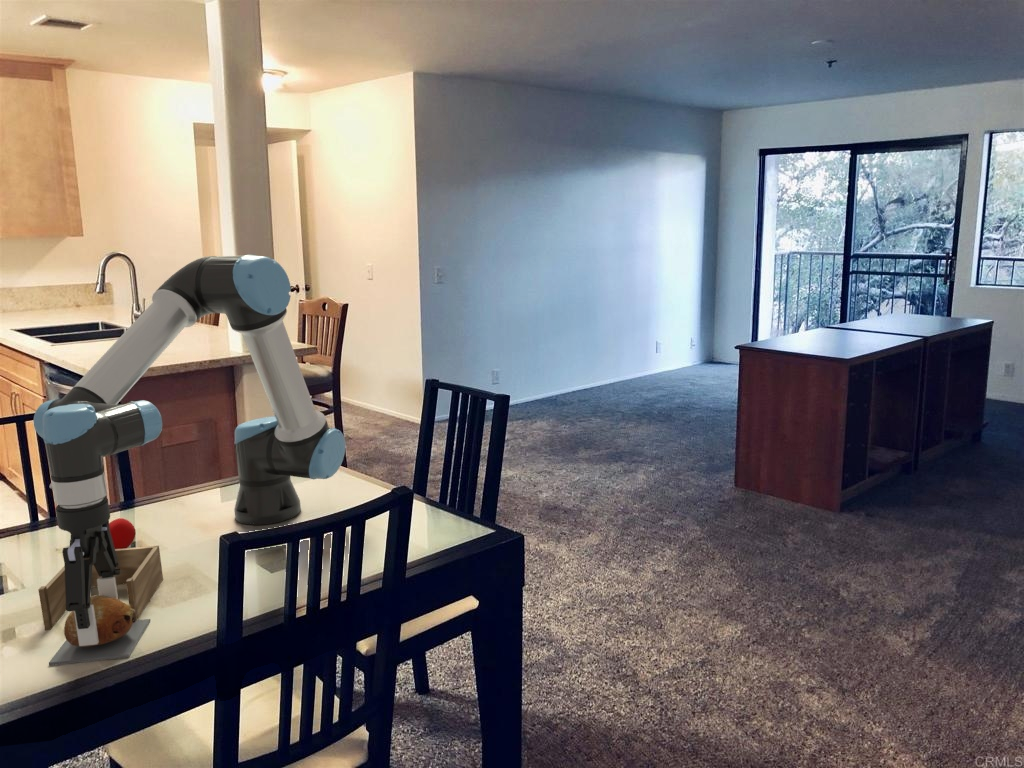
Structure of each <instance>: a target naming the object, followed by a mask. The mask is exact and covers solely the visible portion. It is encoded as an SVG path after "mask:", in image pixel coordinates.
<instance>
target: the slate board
mask: <svg viewBox="0 0 1024 768" xmlns="http://www.w3.org/2000/svg"><path fill="white" fill-rule="evenodd" d="M150 623H151V618H144V619H137V620H136V622H135V623H133V624H132V626H131V628H130V630H129V631H128V632H127V633H126V634H125V635H124V636H122V637H121V638H118V639H116V640H114V641H111V642H108V643H105V644H100V645H95V646H89V647H80V646H75V645H72V644H70V643H69V642H68V641H67V640H66V639H65V641H64V642H63V643H62V645H61V646H60V647H59V649H58V650H57V651H56V653H55V654H54V655H53V656H52V657H51V659H50V660H49V661H48V666H59V665H69V664H78V663H86V662H95V661H104V660H105V661H106V660H113V659H114V660H115V659H116V660H117V659H122V658H123V659H124V658H130V656H131V655H132V653H133V651H134V650H135V648H136V646H137V644H138V643H139V641H140V640H141V638H142V636H143V634H144V633H145V631H146V630H147V628H148V626H149V625H150Z"/></svg>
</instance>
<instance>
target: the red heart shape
mask: <svg viewBox="0 0 1024 768" xmlns="http://www.w3.org/2000/svg"><path fill="white" fill-rule="evenodd" d="M109 528H110V533H111V537H112V540H113V544H114V548H115V549H125V548H130V547H129V546H131V545H132V544H133V542H134V540H135V538H136V532H137V531H136V528H135V526H134V524H133V523H132V522H131V521H130V520H128V519H126V518H121V517H120V518H115V519H113V520H111V521H109Z"/></svg>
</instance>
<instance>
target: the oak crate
mask: <svg viewBox="0 0 1024 768" xmlns="http://www.w3.org/2000/svg"><path fill="white" fill-rule="evenodd" d="M115 551H116V555H117V559H118V563H119V566H118V567H116V568H115V569H119V568H120V575H113V577H115V580H116V586H118V585H119V586H121V585H126V592H127V600H128V605H130V606H131V608H132V609H134V610H135V613H133V615H132V617H133V618H134V619H136V620H139V617H141V615H142V613H143V611H144V610H145V608H146V607H147V605H148V604H149V602H150V600H151V599H152V597H154V596H153V595H155V592H156V591H157V590H158V587H160V584H161V583H162V581H163V580H164V574H163V567H162V560H161V552H160V545H151V546H150V545H149V546H141V547H140V546H138V547H137V546H136V547H127V548H125V549H115ZM88 559H89V558H88ZM84 560H86V559H84ZM98 578H102V576H101V577H99V575H98V573H97V571H96V569H95V567H94V565H93V566H92V582H91V588H98V585H97V579H98ZM38 595H39V601H40V602H39V603H40V609H41V616H42V620H43V628H44V631H50V630H51V629H52V628H53V627H54V626H55V624H56V623H57V622H58V621H59V619H61V617H62V616H63V615H64V613H66V612H67V611H66V592H65V565H64V566H63V567H62V568H61V569H59V571H58V572H57V573H56V574H55V575H54V576H53V577H52V579H50V580H49V582H48V583H46V584H45V585H43V586H40V587H39V588H38Z"/></svg>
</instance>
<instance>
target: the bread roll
mask: <svg viewBox="0 0 1024 768" xmlns="http://www.w3.org/2000/svg"><path fill="white" fill-rule="evenodd" d="M90 605H93V606H94V612H95V619H96V626H97V632H98V639H99V643H98V644H96V645H100V644H105V643H108V642H111V641H114V640H116V639H118V638H121V637H122V636H124V635H125V634H126V633H127V632H128V631H129V630H130V628H131V626H132V624H133V623H135V622H136V619H134V618H133V617H132V615H133V613H135V610H134V609H132V608H131V606H130V605H129V603H126V602H124V601H123V600H120V599H119V598H118V599H115V598H111V597H108V596H105V595H99V594H96V595H91V601H90ZM63 628H64V629H63V633H64V638H65V641H66V640H67V641H68V642H69V643H70V644H72V645H75V646H79V641H78V634H77V628H76V621H75V615H74V611H70V613H69V614H68V616H67V617H66V619H65V622H64V626H63ZM89 646H95V645H86V646H80V647H89Z"/></svg>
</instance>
